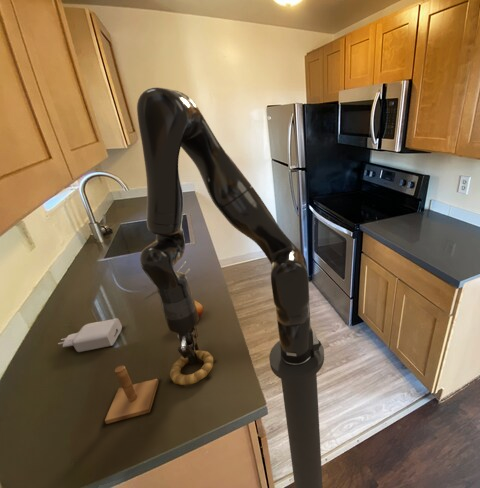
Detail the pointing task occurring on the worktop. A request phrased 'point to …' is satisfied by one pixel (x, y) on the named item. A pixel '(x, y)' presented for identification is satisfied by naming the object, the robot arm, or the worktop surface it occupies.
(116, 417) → the wooden peg stand
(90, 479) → the worktop surface
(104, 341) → the charger
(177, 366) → the ring
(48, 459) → the worktop surface
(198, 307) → the fruit
